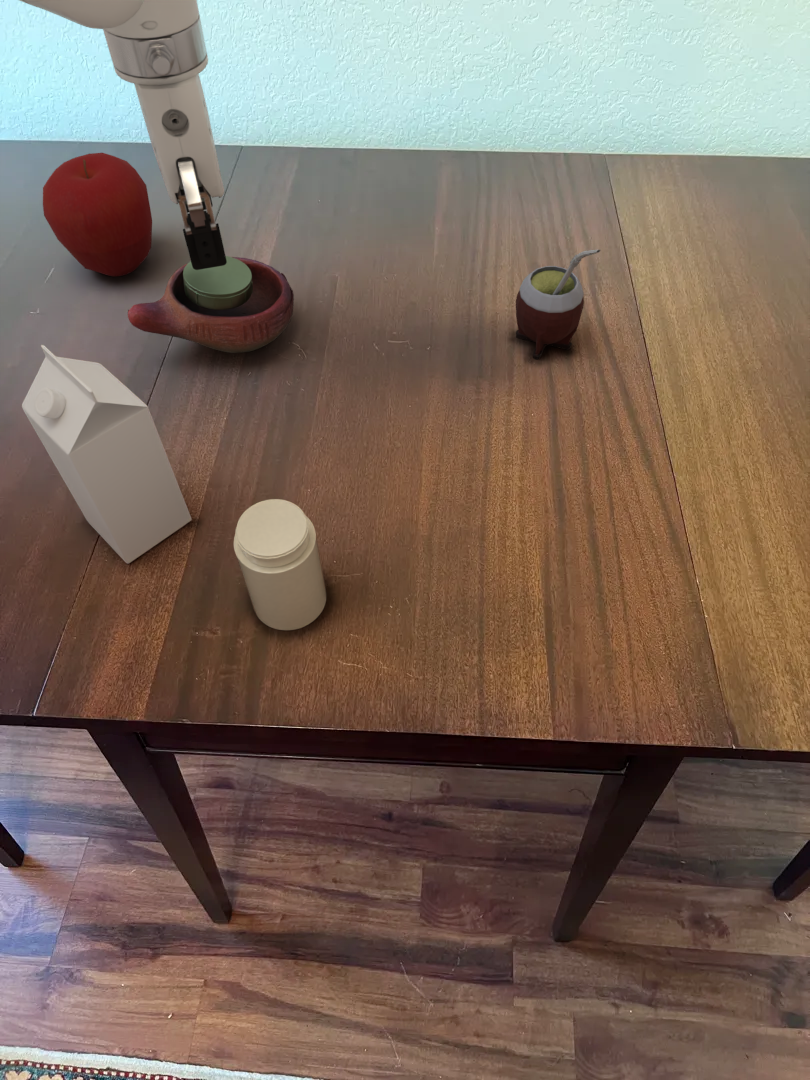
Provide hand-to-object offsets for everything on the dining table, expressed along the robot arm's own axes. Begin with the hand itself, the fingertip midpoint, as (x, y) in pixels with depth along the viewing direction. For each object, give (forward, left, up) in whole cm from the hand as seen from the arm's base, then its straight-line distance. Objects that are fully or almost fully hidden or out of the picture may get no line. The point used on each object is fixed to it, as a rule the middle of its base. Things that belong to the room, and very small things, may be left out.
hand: (203, 236), depth 76 cm
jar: (+6, -34, -14) cm, 37 cm away
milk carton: (-8, -24, -14) cm, 29 cm away
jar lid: (0, 0, -5) cm, 5 cm away
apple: (-14, +16, -14) cm, 25 cm away
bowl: (0, 0, -14) cm, 14 cm away
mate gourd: (+35, -4, -14) cm, 38 cm away
